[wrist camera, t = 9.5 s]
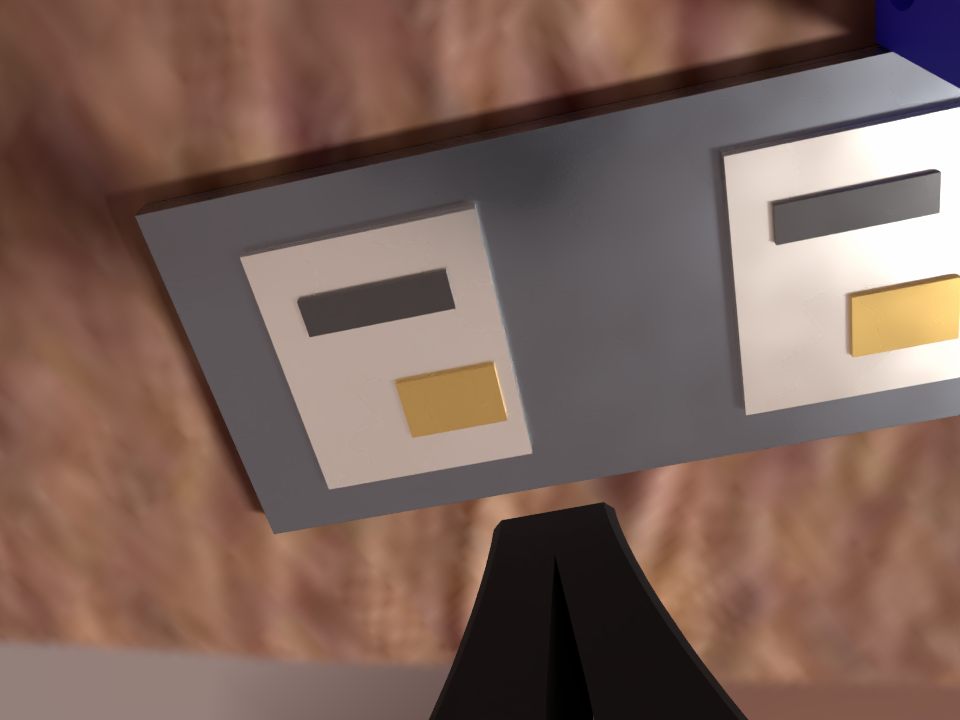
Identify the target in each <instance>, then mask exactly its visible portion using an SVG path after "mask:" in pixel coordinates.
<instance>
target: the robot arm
mask: <svg viewBox="0 0 960 720" xmlns="http://www.w3.org/2000/svg"><path fill="white" fill-rule="evenodd" d="M593 716H594V720H748V719H747V718H746V716H745V715H744V714H743V713H742V712H741V710H740V709H739V708H738V707H737V705H736V704H735V703H734V702H733V701H732V699H731V698H730V697H729V696H728V694H727V693H726V692H725V690H724V689H723V688H722V686H721V685H720V684H719V683H718V681H717V680H716V679H715V677H714V676H713V675H712V674H711V672H710V671H709V670H708V668H707V667H706V666H705V665H704V663H703V662H702V660H701V659H700V658H699V656H698V655H697V654H696V652H695V651H694V649H693V648H692V647H691V645H690V644H689V643H688V641H687V640H686V638H685V637H684V635H683V634H682V632H681V631H680V629H679V628H678V626H677V625H676V623H675V622H674V620H673V619H672V617H671V616H670V614H669V613H668V611H667V610H666V609H665V607H664V606H663V604H662V603H661V601H660V600H659V598H658V596H657V595H656V593H655V591H654V590H653V588H652V587H651V585H650V583H649V582H648V580H647V578H646V576H645V575H644V573H643V571H642V569H641V568H640V566H639V564H638V562H637V560H636V559H635V557H634V555H633V553H632V551H631V549H630V547H629V545H628V543H627V541H626V539H625V536H624V534H623V532H622V529H621V527H620V524H619V522H618V519H617V516H616V513H615V509H614V508H613V507H611V506H609V505H607V504H606V503H604V502H603V503H597V504H591V505H586V506H580V507H574V508H569V509H563V510H557V511H552V512H546V513H540V514H535V515H529V516H524V517H518V518H512V519H507V520H501V522H500V523H499V524H498V525H497V526H496V528H495V529H494V532H493V537H492V543H491V547H490V551H489V556H488V560H487V564H486V567H485V571H484V575H483V578H482V581H481V585H480V588H479V591H478V594H477V597H476V601H475V604H474V607H473V610H472V613H471V616H470V619H469V621H468V624H467V627H466V629H465V632H464V635H463V638H462V640H461V643H460V646H459V649H458V651H457V654H456V657H455V660H454V662H453V665H452V667H451V670H450V672H449V675H448V678H447V680H446V682H445V684H444V687H443V689H442V691H441V693H440V696H439V698H438V700H437V702H436V705H435V707H434V709H433V712H432V714H431V716H430V718H429V720H593Z"/></svg>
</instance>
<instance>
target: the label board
mask: <svg viewBox="0 0 960 720" xmlns="http://www.w3.org/2000/svg"><path fill="white" fill-rule="evenodd" d="M135 217H136V220H137V222H138V224H139V227H140V229H141V231H142V233H143V236H144V238H145V240H146V243H147V245H148V247H149V249H150V252H151V254H152V256H153V259H154V261H155V263H156V265H157V268H158V270H159V272H160V275H161V277H162V279H163V281H164V284H165V286H166V288H167V291H168V293H169V295H170V297H171V300H172V302H173V304H174V307H175V309H176V311H177V313H178V316H179V318H180V320H181V323H182V325H183V327H184V329H185V332H186V334H187V336H188V339H189V341H190V343H191V345H192V348H193V350H194V352H195V355H196V357H197V359H198V361H199V364H200V366H201V368H202V371H203V373H204V375H205V377H206V380H207V382H208V384H209V387H210V389H211V391H212V393H213V396H214V398H215V400H216V403H217V405H218V407H219V409H220V412H221V414H222V416H223V419H224V421H225V423H226V425H227V428H228V430H229V432H230V435H231V437H232V439H233V441H234V444H235V446H236V448H237V451H238V453H239V455H240V457H241V460H242V462H243V464H244V467H245V469H246V471H247V473H248V476H249V478H250V480H251V483H252V485H253V487H254V489H255V492H256V494H257V496H258V499H259V501H260V503H261V505H262V508H263V510H264V512H265V515H266V517H267V519H268V521H269V524H270V526H271V528H272V531H273V533H274V534H278V533H283V532H289V531H295V530H301V529H306V528H312V527H318V526H324V525H329V524H335V523H341V522H347V521H352V520H358V519H364V518H370V517H375V516H381V515H387V514H393V513H398V512H404V511H410V510H416V509H421V508H427V507H433V506H439V505H445V504H450V503H456V502H462V501H468V500H473V499H479V498H485V497H491V496H496V495H502V494H508V493H514V492H519V491H525V490H531V489H537V488H542V487H548V486H554V485H560V484H565V483H571V482H577V481H583V480H588V479H594V478H600V477H606V476H611V475H617V474H623V473H629V472H634V471H640V470H646V469H652V468H657V467H663V466H669V465H675V464H680V463H686V462H692V461H698V460H703V459H709V458H715V457H721V456H727V455H732V454H738V453H744V452H750V451H755V450H761V449H767V448H773V447H778V446H784V445H790V444H796V443H801V442H807V441H813V440H819V439H824V438H830V437H836V436H842V435H847V434H853V433H859V432H865V431H870V430H876V429H882V428H888V427H893V426H899V425H905V424H911V423H916V422H922V421H928V420H934V419H939V418H945V417H951V416H957V415H960V89H959V88H958V87H956V86H954V85H952V84H950V83H948V82H947V81H945V80H943V79H941V78H939V77H938V76H936V75H934V74H932V73H930V72H928V71H927V70H925V69H923V68H921V67H919V66H918V65H916V64H914V63H912V62H910V61H908V60H907V59H905V58H903V57H901V56H899V55H898V54H896V53H894V52H892V51H890V50H888V49H887V48H885V47H883V46H881V45H878V46H873V47H869V48H864V49H860V50H855V51H850V52H846V53H841V54H837V55H832V56H827V57H823V58H818V59H814V60H809V61H804V62H800V63H795V64H791V65H786V66H781V67H777V68H772V69H768V70H763V71H758V72H754V73H749V74H745V75H740V76H736V77H731V78H726V79H722V80H717V81H713V82H708V83H703V84H699V85H694V86H690V87H685V88H680V89H676V90H671V91H667V92H662V93H657V94H653V95H648V96H644V97H639V98H634V99H630V100H625V101H621V102H616V103H611V104H607V105H602V106H598V107H593V108H589V109H584V110H579V111H575V112H570V113H566V114H561V115H556V116H552V117H547V118H543V119H538V120H533V121H529V122H524V123H520V124H515V125H510V126H506V127H501V128H497V129H492V130H487V131H483V132H478V133H474V134H469V135H464V136H460V137H455V138H451V139H446V140H442V141H437V142H432V143H428V144H423V145H419V146H414V147H409V148H405V149H400V150H396V151H391V152H386V153H382V154H377V155H373V156H368V157H363V158H359V159H354V160H350V161H345V162H340V163H336V164H331V165H327V166H322V167H318V168H313V169H308V170H304V171H299V172H295V173H290V174H285V175H281V176H276V177H272V178H267V179H262V180H258V181H253V182H249V183H244V184H239V185H235V186H230V187H226V188H221V189H216V190H212V191H207V192H203V193H198V194H193V195H189V196H184V197H180V198H175V199H171V200H166V201H161V202H157V203H152V204H148V205H144V206H143V207H142V209H141V210H140V211H139V212H138V213H137V214H136V216H135Z"/></svg>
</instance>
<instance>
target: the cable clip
mask: <svg viewBox="0 0 960 720" xmlns="http://www.w3.org/2000/svg"><path fill="white" fill-rule="evenodd" d="M875 42H876V43H877V44H879V45H881V46H883V47H885V48H887V49H888V50H890V51H892V52H894V53H896V54H898V55H899V56H901V57H903V58H905V59H907V60H908V61H910V62H912V63H914V64H916V65H918V66H919V67H921V68H923V69H925V70H927V71H928V72H930V73H932V74H934V75H936V76H938V77H939V78H941V79H943V80H945V81H947V82H948V83H950V84H952V85H954V86H956V87H958V88H959V89H960V0H876V39H875Z"/></svg>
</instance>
